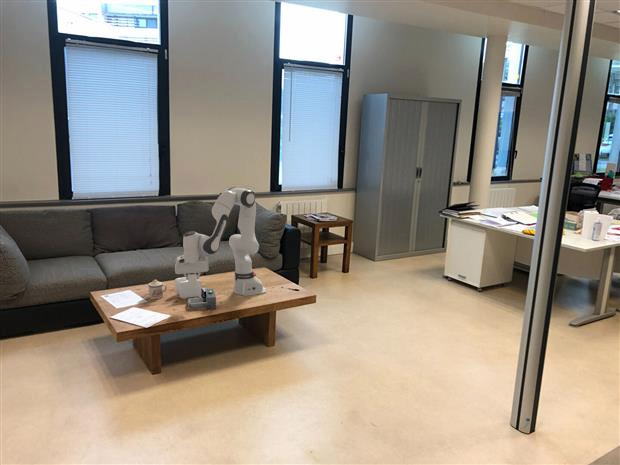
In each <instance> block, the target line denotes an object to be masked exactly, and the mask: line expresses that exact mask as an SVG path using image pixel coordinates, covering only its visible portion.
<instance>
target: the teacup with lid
mask: <svg viewBox="0 0 620 465" xmlns="http://www.w3.org/2000/svg"><path fill="white" fill-rule="evenodd" d="M147 286H148V298H149V299H151V300H159V299H162V298H163V297H164V292H166V291H167V285H166V284H164V283H163V282H161V281H158V280H157V279H154V280H152V282H149V283H148V285H147ZM163 287H164V288H163ZM163 289H164V290H163Z"/></svg>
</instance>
